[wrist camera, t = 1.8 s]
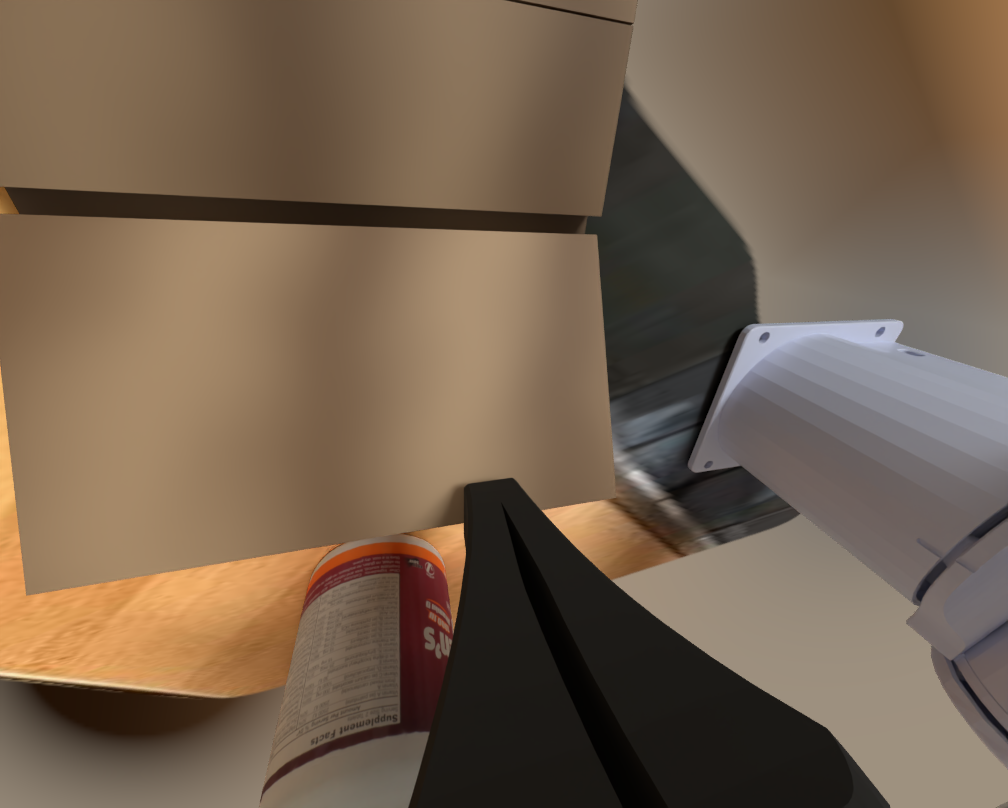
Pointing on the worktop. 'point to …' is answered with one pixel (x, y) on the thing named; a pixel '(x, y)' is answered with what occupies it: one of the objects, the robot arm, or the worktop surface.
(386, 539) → the pill bottle
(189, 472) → the plank
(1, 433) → the worktop surface
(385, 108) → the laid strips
